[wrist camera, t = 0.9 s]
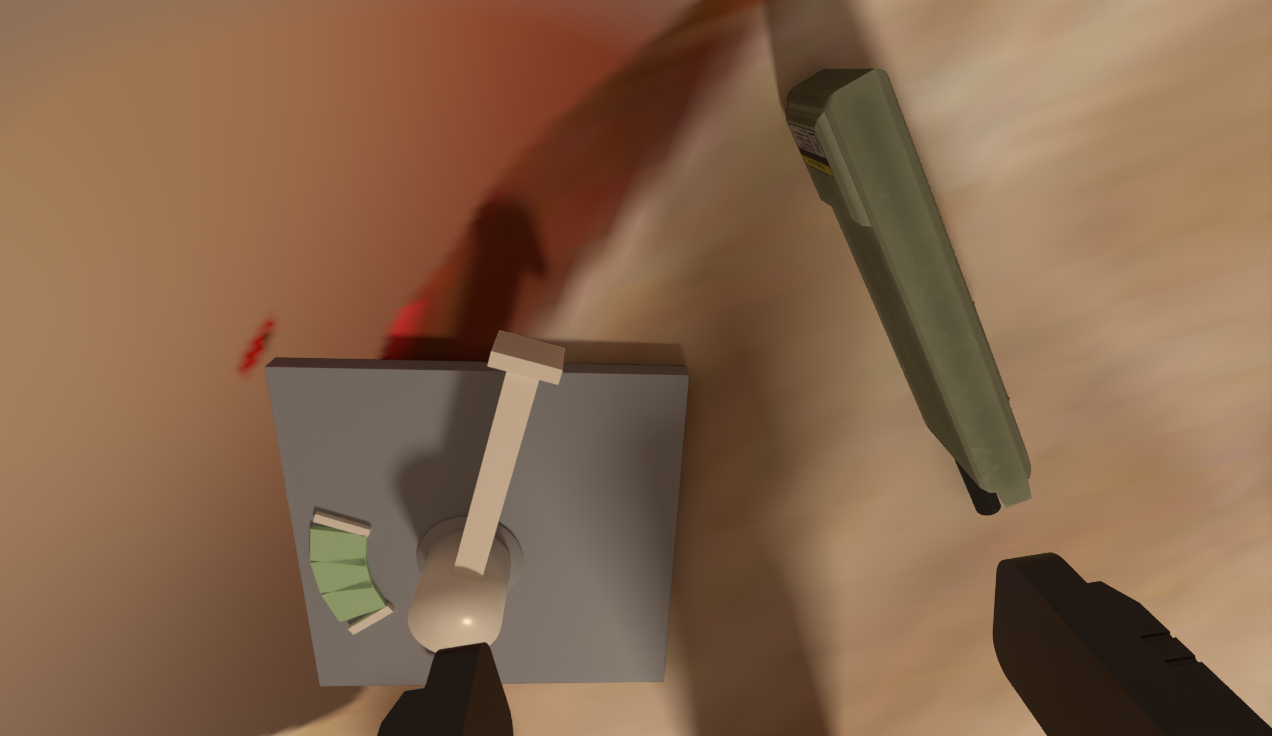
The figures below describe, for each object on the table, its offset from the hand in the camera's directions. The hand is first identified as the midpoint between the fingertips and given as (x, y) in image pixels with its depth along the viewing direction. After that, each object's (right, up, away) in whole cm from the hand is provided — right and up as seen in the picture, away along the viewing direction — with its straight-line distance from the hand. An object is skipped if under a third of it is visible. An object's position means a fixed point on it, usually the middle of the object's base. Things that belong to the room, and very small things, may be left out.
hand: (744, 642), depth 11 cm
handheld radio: (+12, +7, +24) cm, 28 cm away
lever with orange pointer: (-10, -4, +25) cm, 27 cm away
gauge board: (-10, -5, +27) cm, 29 cm away
